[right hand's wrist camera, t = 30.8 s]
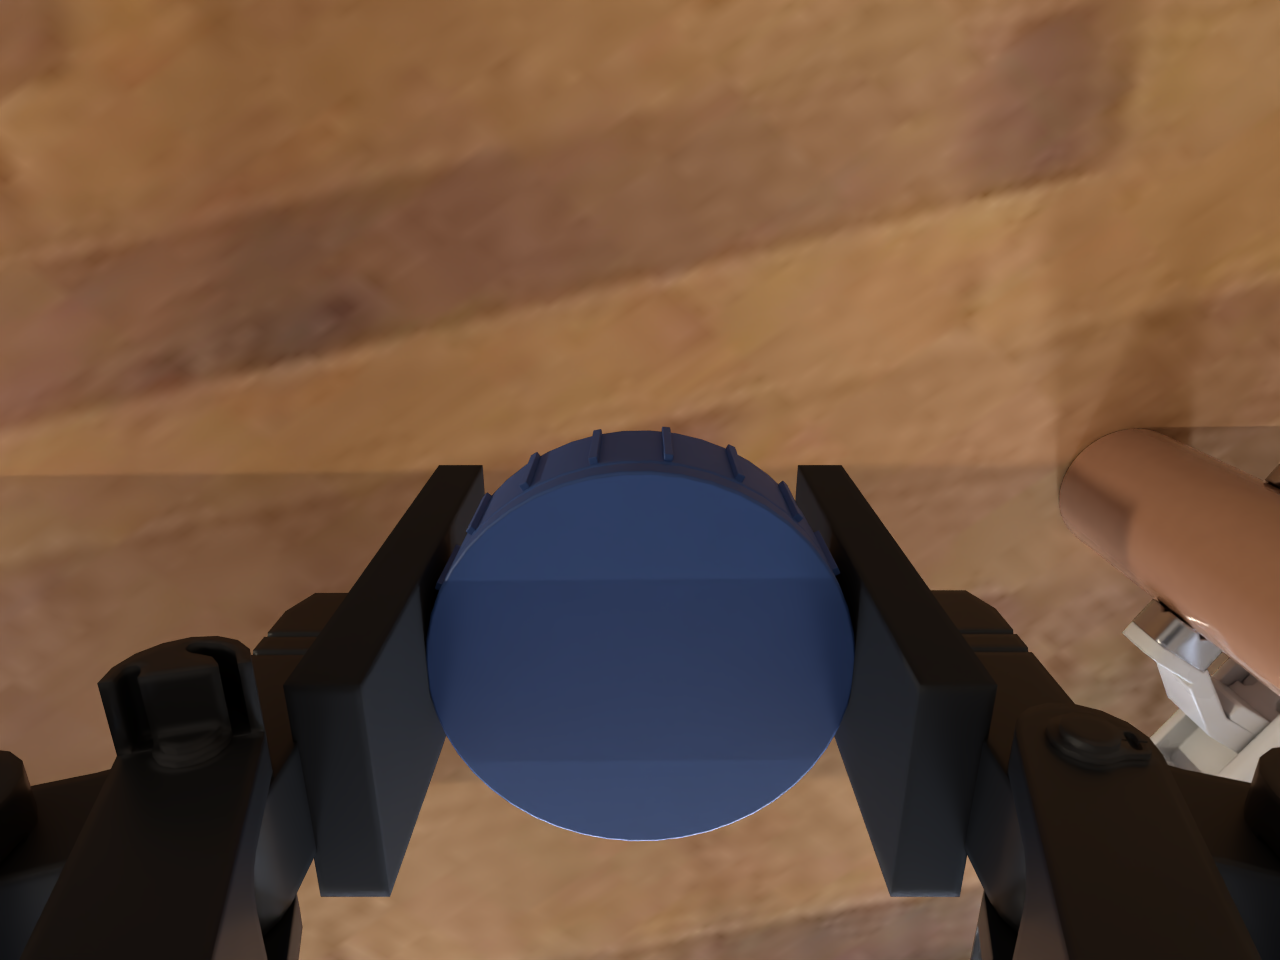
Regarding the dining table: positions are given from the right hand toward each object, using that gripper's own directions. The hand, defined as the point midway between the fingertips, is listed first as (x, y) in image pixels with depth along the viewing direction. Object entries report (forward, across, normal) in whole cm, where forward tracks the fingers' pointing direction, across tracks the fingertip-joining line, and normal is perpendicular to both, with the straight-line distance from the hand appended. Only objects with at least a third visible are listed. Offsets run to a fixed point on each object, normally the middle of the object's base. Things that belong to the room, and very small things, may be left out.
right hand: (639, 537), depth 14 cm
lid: (-4, 0, 0) cm, 4 cm away
